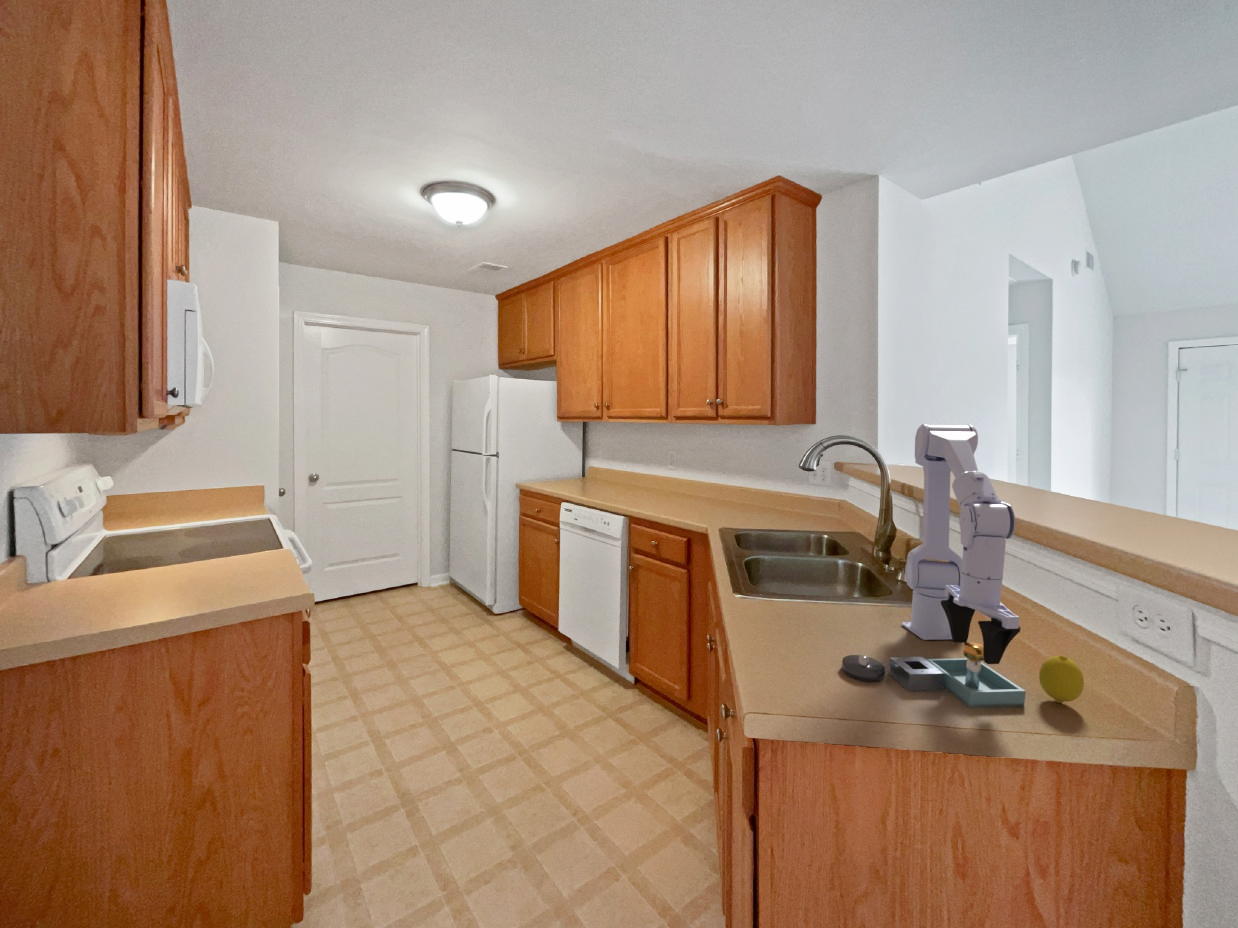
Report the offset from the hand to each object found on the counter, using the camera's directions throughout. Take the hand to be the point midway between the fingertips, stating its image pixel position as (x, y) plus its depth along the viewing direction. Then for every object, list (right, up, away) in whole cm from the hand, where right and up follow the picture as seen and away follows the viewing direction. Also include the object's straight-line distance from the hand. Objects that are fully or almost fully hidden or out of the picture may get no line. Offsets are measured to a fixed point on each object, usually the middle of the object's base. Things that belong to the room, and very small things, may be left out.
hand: (974, 652), depth 90 cm
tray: (0, -6, +1) cm, 6 cm away
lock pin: (0, -6, +1) cm, 6 cm away
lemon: (+11, -7, -4) cm, 14 cm away
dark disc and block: (-13, -6, +4) cm, 15 cm away
